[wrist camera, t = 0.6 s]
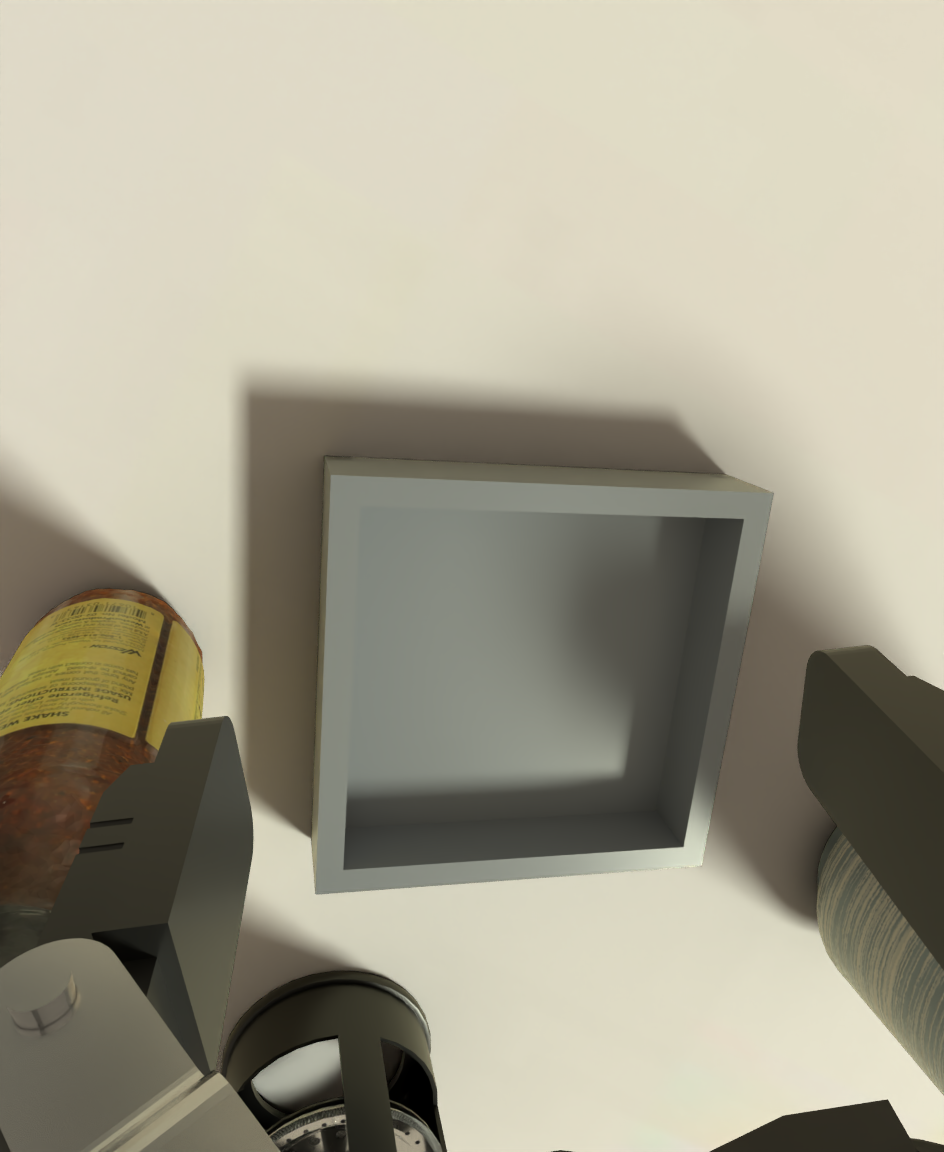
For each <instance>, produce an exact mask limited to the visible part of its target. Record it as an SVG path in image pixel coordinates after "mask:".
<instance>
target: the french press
mask: <svg viewBox="0 0 944 1152" xmlns="http://www.w3.org/2000/svg"><path fill="white" fill-rule="evenodd" d="M337 1038H338V1042H339V1053H340V1064H341V1074H342V1085H343V1096H344V1097H338V1098H333V1099H329V1100H325V1101H321V1102H318V1103H316V1104H313V1105H310V1106H308V1107H305V1108H303V1109H300V1110H298V1111H296V1112H295V1113H293V1114H291V1115H288V1114H285V1113H282V1112H280V1111H278V1110H276V1109H274V1108H272V1107H271V1106H270V1105H269V1104H267V1103H266V1102H265V1101H264V1100H263V1099H262V1098H261V1097H260V1095H259V1094H258V1093H257V1091H256V1089H255V1087H254V1084H253V1082H252V1079H253V1078H254V1077H255V1076H256V1075H257V1074H258V1073H259V1072H260V1071H262V1070H263V1069H264V1068H266V1067H267V1066H268V1065H270V1064H271V1063H273V1062H274V1061H275V1060H277V1059H278V1058H280V1057H282V1056H284V1055H286V1054H288V1053H290V1052H292V1051H294V1050H296V1049H298V1048H301V1047H304V1046H307V1045H310V1044H313V1043H316V1042H321V1041H326V1040H332V1039H337ZM381 1041H382V1042H385V1043H388V1044H391V1045H394V1046H396V1047H398V1048H400V1049H401V1050H403V1056H402V1061H401V1064H400V1066H399V1068H398V1071H397V1073H396V1075H395V1076H394V1078H393V1079H392V1080H391V1082H390V1083H389V1085H388V1086H387V1081H386V1074H385V1068H384V1061H383V1054H382V1048H381ZM430 1051H431V1040H430V1031H429V1027H428V1023H427V1020H426V1017H425V1014H424V1013H423V1011H422V1009H421V1008H420V1006H419V1004H418V1003H417V1001H416V1000H415V999H414V998H413V997H412V996H411V995H410V994H409V993H408V992H407V991H406V990H405V989H403V988H402V987H400V986H398V985H397V984H395V983H393V982H392V981H390V980H387V979H385V978H382V977H379V976H376V975H373V974H368V973H362V972H355V971H332V972H326V973H320V974H314V975H310V976H307V977H304V978H301V979H298V980H295V981H292V982H290V983H288V984H286V985H284V986H282V987H280V988H278V989H276V990H274V991H272V992H270V993H269V994H268V995H266V996H265V997H264V998H262V999H261V1000H259V1001H258V1002H257V1003H255V1004H254V1005H253V1006H252V1007H251V1008H250V1009H249V1010H248V1011H247V1012H246V1013H245V1014H244V1015H243V1016H242V1018H241V1019H240V1020H239V1022H238V1023H237V1025H236V1026H235V1028H234V1029H233V1031H232V1032H231V1034H230V1036H229V1039H228V1041H227V1044H226V1046H225V1049H224V1051H223V1058H222V1065H221V1075H222V1076H223V1077H224V1078H225V1079H226V1080H227V1081H228V1082H229V1084H230V1085H231V1086H232V1087H233V1089H234V1090H235V1091H236V1093H237V1094H238V1095H239V1097H240V1098H241V1099H242V1101H243V1102H244V1103H245V1105H246V1106H247V1107H248V1109H249V1110H250V1111H251V1113H252V1114H253V1115H254V1117H255V1118H256V1119H257V1121H258V1122H259V1123H260V1125H261V1126H262V1127H263V1129H264V1130H265V1131H266V1133H267V1134H268V1135H269V1137H270V1138H271V1139H272V1141H273V1142H274V1144H275V1145H276V1146H277V1148H278V1149H279V1150H280V1152H447V1149H446V1145H445V1140H444V1135H443V1130H442V1125H441V1121H440V1116H439V1111H438V1106H437V1087H436V1083H435V1078H434V1073H433V1068H432V1064H431V1059H430Z"/></svg>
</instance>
